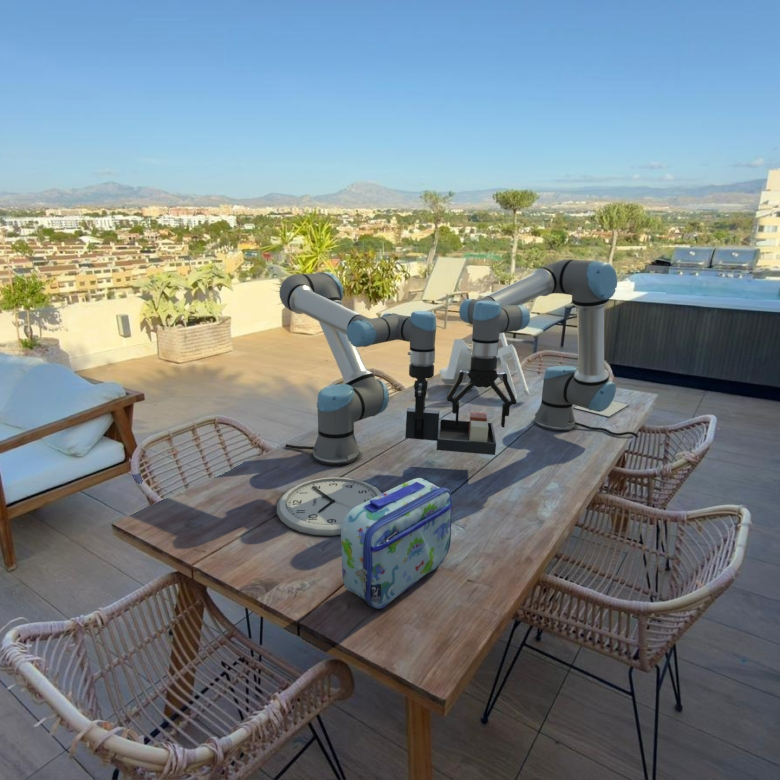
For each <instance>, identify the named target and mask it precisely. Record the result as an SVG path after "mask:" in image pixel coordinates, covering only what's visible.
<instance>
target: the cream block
mask: <svg viewBox="0 0 780 780" xmlns="http://www.w3.org/2000/svg"><path fill="white" fill-rule="evenodd" d="M488 423H489V422H488V421H487V422H483V421H471V425H470V436H469V441H476V442H487V437H488Z"/></svg>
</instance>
